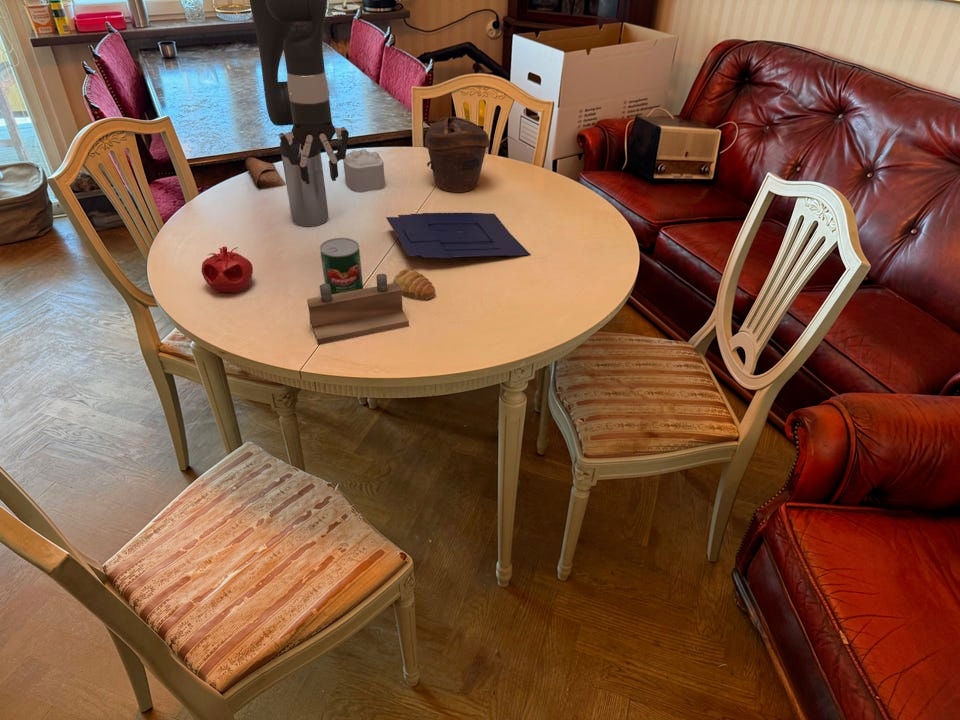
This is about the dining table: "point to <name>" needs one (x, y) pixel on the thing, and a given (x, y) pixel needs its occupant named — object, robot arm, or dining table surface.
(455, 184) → the case
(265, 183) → the sunglasses case
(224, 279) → the pomegranate
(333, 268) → the canned tomato
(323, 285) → the bench stop
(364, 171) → the lumpy-topped squat cylinder
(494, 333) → the dining table surface
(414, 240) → the navy folded cloth
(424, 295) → the pastry
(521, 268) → the dining table surface
